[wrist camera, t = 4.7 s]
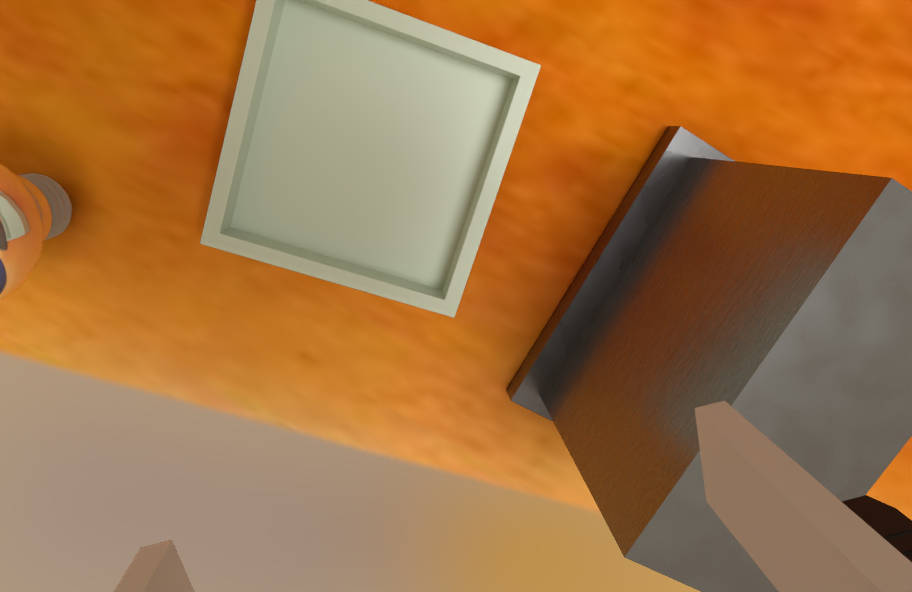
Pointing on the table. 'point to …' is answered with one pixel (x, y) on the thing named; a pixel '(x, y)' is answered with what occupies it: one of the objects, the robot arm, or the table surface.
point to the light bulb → (27, 222)
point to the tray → (366, 148)
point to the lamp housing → (729, 344)
